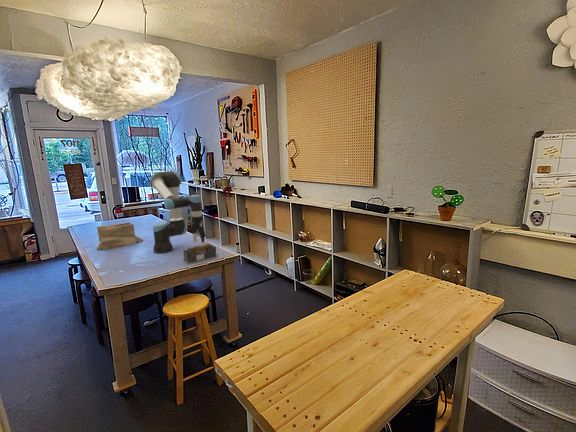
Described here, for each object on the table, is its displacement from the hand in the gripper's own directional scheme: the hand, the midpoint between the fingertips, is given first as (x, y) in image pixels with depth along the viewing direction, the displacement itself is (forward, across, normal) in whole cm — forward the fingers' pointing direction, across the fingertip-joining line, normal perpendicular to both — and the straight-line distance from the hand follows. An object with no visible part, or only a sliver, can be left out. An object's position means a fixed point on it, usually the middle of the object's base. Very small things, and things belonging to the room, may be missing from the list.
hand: (199, 243), depth 230 cm
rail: (+8, +1, 0) cm, 8 cm away
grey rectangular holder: (+12, +1, 0) cm, 12 cm away
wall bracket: (+14, -85, -37) cm, 94 cm away
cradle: (+14, -86, -39) cm, 96 cm away
